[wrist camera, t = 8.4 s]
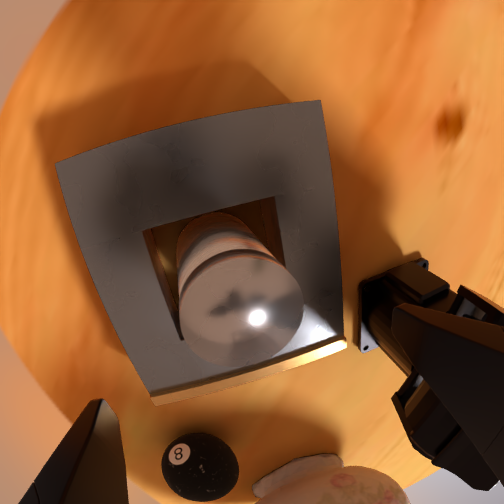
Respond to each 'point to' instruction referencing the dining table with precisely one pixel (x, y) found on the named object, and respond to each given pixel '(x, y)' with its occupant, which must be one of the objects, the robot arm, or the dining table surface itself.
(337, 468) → the ceramic pitcher
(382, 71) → the dining table surface
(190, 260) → the grey cylinder
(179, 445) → the billiard ball
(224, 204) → the jig
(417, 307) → the robot arm
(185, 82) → the dining table surface
